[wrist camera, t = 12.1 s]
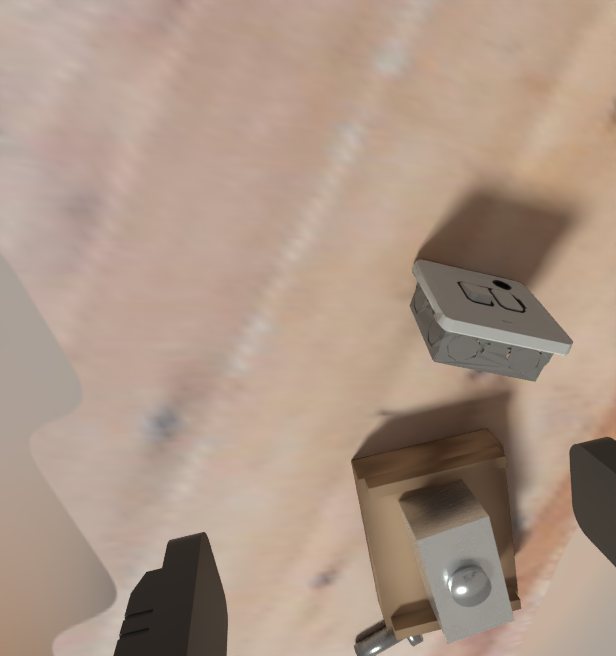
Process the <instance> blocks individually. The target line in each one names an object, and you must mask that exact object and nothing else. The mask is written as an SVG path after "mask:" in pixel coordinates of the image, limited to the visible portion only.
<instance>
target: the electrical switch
mask: <svg viewBox="0 0 616 656" xmlns="http://www.w3.org/2000/svg"><path fill="white" fill-rule="evenodd" d="M412 272H413V274H414V276H415V277H416V278H417V280H418V283H417V286H416V291H415V294H414V297H413V299H412V302H411V304H410V307H411V310H412V312H413V315H414V317H415V319H416V322H417V324H418V326H419V329H420V331H421V334H422V336H423V338H424V341H425V343H426V345H427V348H428V350H429V353H430V355H431V357H432V360H433V359H434V357H435V355H436V353H437V355H436V357H435V359H434V362H438V363H443V364H448V365H453V366H458V367H463V368H468V369H473V370H478V371H484V372H489V373H494V374H499V375H504V376H509V377H514V378H519V379H524V380H529V381H536V379H537V378H538V376H539V374H540V372H541V370H542V369H543V367H544V366H545V365H546V364H547V363H548V362H549V361H550V359H551V357H552V355H553V354H558V355H563V356H566V355H567V354H568V353H569V351H570V348H571V346H572V344H573V341H572V339H571V338H570V337H569V336H568V335H567V334H566V332H565V331H564V330H563V329H562V328H561V327H560V325H559V324H558V323H557V322H556V321H555V320H554V318H553V317H552V316H551V315H550V314H549V313H548V311H547V310H546V309H545V308H544V307H543V306H542V304H541V303H540V302H539V301H538V300H537V299H536V297H535V296H534V295H533V294H532V293H531V292H530V290H529V289H528V288H527V287H526V286H525V285H523V284H521V283H519V282H517V281H513V280H509V279H505V278H500V277H496V276H492V275H487V274H483V273H479V272H474V271H470V270H466V269H461V268H457V267H453V266H448V265H444V264H439V263H435V262H431V261H426V260H421V259H419V260H417V261H416V262H415V264H414V267H413V269H412ZM457 335H458V336H457ZM456 336H457V337H456ZM477 340H478V341H479V343H478V341H477ZM487 343H489V344H487ZM475 353H476V355H475ZM508 353H510V355H509V357H508V359H507V358H506V354H508ZM474 355H475V356H474ZM456 360H457V361H458V362H457V361H456ZM522 373H524V374H522Z"/></svg>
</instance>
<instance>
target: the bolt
mask: <svg viewBox="0 0 616 656" xmlns="http://www.w3.org/2000/svg"><path fill="white" fill-rule="evenodd" d="M404 639H405V638H404ZM407 639H408V640H409V642H410V643H411V645H412V646H415V645H417V644H419V643H421V642H422V641H423V636H422V634H420V635H416V636H412V637H408V638H407ZM402 640H403V639H401V640H397V639H396V636H395V633H394V630H393V627H392V626H391V627H384V628H383V629H381V630H379V631H377V632H376V633H374V634H372V635H371V636H369V637H367V638H365V639H364V640H362V641H360V642H358V643H357V644H355V645H354V649H355V652H356V654H357V656H376V655H377V654H379V653H381V652H383V651H384V650H386V649H388V648H390V647H391V646H393V645H395V644H396V643H398V642H400V641H402Z"/></svg>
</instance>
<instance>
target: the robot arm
mask: <svg viewBox="0 0 616 656" xmlns="http://www.w3.org/2000/svg"><path fill="white" fill-rule="evenodd" d="M570 472H571V489H572V505H573V511H574V514H575V517H576V520H577V522H578V524H579V526H580V528H581V529H582V531H583V532H584V534H585V535H586V536H587V537H588V538H589V539H590V541H591V542H592V543H593V544H594V545H595V546H596V547H597V548H598V549H599V550H600V551H601V552H602V553H603V554H604V555H605V556H606V557H607V558H608V559H609V560H610V561H611V563H612V564H613V565H614V566H615V567H616V441H615V440H614V439H612V438H610V437H604V438H600V439H596V440H591V441H587V442H583V443H579V444H575V445H573V446H572V447H571V449H570ZM227 631H228V615H227V605H226V599H225V594H224V590H223V587H222V583H221V580H220V576H219V573H218V570H217V566H216V563H215V559H214V556H213V553H212V549H211V546H210V543H209V539H208V537H207V535H206V533H205V532H202V533H198V534H194V535H189V536H185V537H181V538H177V539H173V540H169V542H168V544H167V548H166V553H165V557H164V562H163V566H162V568H161V569H157V570H153V571H149V572H146V573H145V575H144V576H143V577H142V579H141V580H140V582H139V583H138V584H137V586H136V587H135V589H134V590H133V591H132V593H131V595H130V598H129V602H128V606H127V609H126V613H125V620H124V621H123V624H122V627H121V631H120V634H119V636H120V640H118V641H117V645H116V649H115V652H114V656H226V655H227Z"/></svg>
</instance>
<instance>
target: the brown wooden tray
mask: <svg viewBox="0 0 616 656" xmlns="http://www.w3.org/2000/svg"><path fill="white" fill-rule="evenodd" d="M351 463H352V468H353V473H354V478H355V483H356V489H357V494H358V499H359V504H360V509H361V514H362V519H363V525H364V530H365V535H366V540H367V545H368V550H369V555H370V561H371V566H372V571H373V576H374V581H375V586H376V592H377V597H378V602H379V605H380V608H381V611H382V614H383V618H384V621H385V624H386V627H391V626H392V627H393V630H394V633H395V636H396V639H397V640H401V639H404V638H408V637H412V636H416V635H420V634H424V633H428V632H432V631H436V630H440V629H441V628H440V625H439V623H438V621H437V618H436V616H435V614H434V611H433V609H432V607H431V605H430V602H429V600H428V598H427V595H426V592H425V589H424V585H423V582H422V579H421V575H420V572H419V569H418V565H417V562H416V559H415V555H414V552H413V549H412V546H411V542H410V539H409V536H408V532H407V529H406V526H405V522H404V519H403V516H402V512H401V509H400V506H399V502H398V500H401V499H404V498H407V497H410V496H413V495H416V494H419V493H422V492H425V491H428V490H431V489H434V488H437V487H440V486H443V485H445V484H448V483H451V482H454V481H457V480H460V479H463V481H464V482H465V484H466V485H467V486H468V488H469V489H470V491H471V492H472V493H473V495H474V496H475V497H476V499H477V500H478V502H479V503H480V504H481V506H482V507H483V509H484V510H485V511H486V513H487V514H488V515H489V518H490V522H491V527H492V531H493V535H494V539H495V543H496V547H497V551H498V555H499V559H500V563H501V567H502V572H503V576H504V580H505V584H506V588H507V592H508V596H509V600H510V604H511V608H512V611H514V610H518V609H521V603H520V599H519V597H518V595H517V594H518V589H517V579H516V569H515V559H514V549H513V539H512V529H511V519H510V509H509V499H508V489H507V479H506V469H505V468H506V467H507V462H506V456H505V455H504V449H503V445H502V444H501V443H500V442H499V441H498V440H497V438H496V437H495V436H494V435H493V434H492V433H491V432H490V431H489V430H488V429H483V430H479V431H475V432H471V433H466V434H462V435H458V436H454V437H449V438H445V439H441V440H437V441H432V442H428V443H424V444H420V445H415V446H411V447H407V448H403V449H398V450H394V451H390V452H386V453H381V454H377V455H373V456H369V457H364V458H360V459H356V460H352V461H351Z"/></svg>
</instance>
